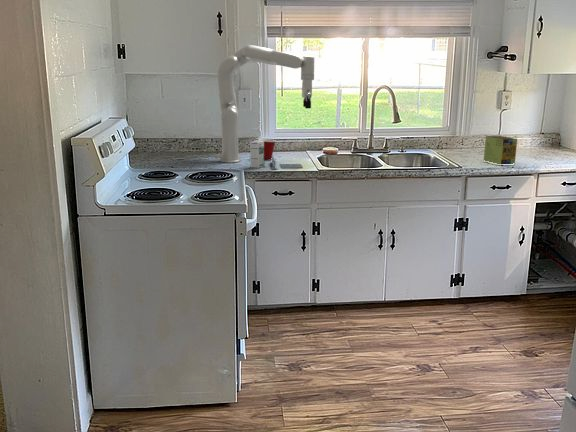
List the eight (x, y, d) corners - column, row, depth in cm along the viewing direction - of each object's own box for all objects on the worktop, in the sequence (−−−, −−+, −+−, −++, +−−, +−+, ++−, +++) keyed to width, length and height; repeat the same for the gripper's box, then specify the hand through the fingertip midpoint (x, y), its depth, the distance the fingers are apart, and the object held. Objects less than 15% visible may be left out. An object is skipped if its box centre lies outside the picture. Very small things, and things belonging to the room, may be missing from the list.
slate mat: (281, 168, 331) (281, 167, 331) (279, 164, 343) (279, 163, 343) (302, 168, 332) (302, 167, 332) (300, 164, 344) (300, 163, 344)
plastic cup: (277, 160, 356) (277, 140, 353) (258, 160, 355) (258, 140, 352) (275, 157, 366) (275, 138, 363) (257, 157, 365) (257, 138, 362)
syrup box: (258, 168, 332) (258, 141, 328) (250, 166, 335) (249, 141, 331) (264, 166, 337) (264, 140, 333) (255, 165, 340) (255, 139, 336)
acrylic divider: (271, 169, 327) (271, 160, 326) (269, 163, 346) (269, 154, 345) (277, 169, 327) (277, 160, 326) (274, 163, 347) (274, 154, 345)
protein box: (500, 166, 343) (503, 139, 339) (482, 162, 357) (485, 136, 353) (515, 165, 347) (518, 138, 343) (497, 161, 361) (499, 135, 357)
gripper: (299, 76, 352) (298, 106, 357) (302, 78, 336) (302, 108, 340) (312, 76, 353) (311, 106, 358) (316, 78, 336) (315, 108, 341)
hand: (307, 107), depth 349 cm, fingers open, 9 cm apart
